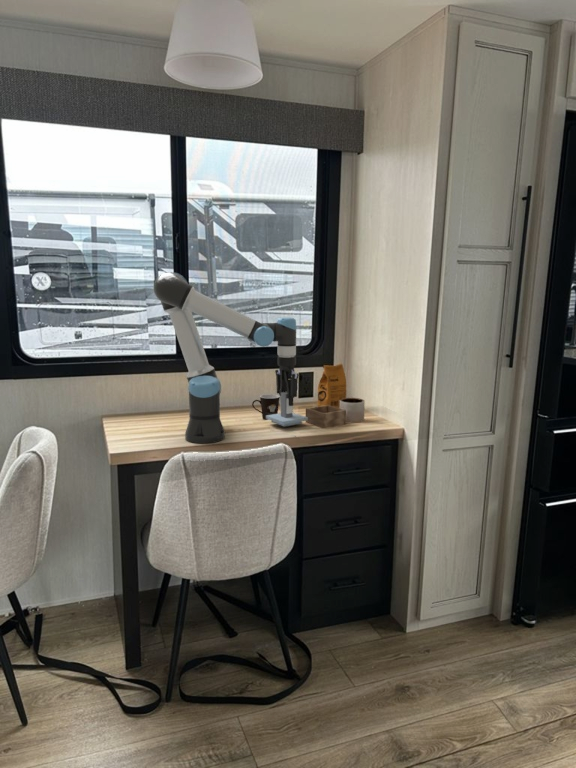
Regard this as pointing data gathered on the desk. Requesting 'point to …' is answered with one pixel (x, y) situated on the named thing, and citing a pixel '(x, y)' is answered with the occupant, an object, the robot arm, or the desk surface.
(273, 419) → the lid
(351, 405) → the planter
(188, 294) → the robot arm
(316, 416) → the crate
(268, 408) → the coffee mug
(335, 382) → the coffee package
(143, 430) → the desk surface
